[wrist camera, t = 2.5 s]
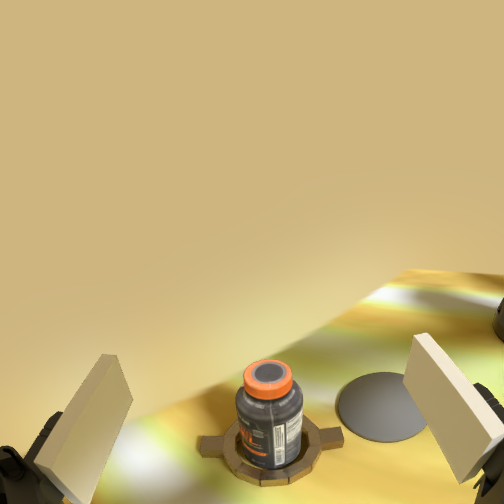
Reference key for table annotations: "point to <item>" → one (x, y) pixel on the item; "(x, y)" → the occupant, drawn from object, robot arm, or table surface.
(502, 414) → the robot arm
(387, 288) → the table surface
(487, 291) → the table surface
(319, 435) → the collar
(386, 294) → the table surface
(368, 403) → the coaster
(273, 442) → the pill bottle
